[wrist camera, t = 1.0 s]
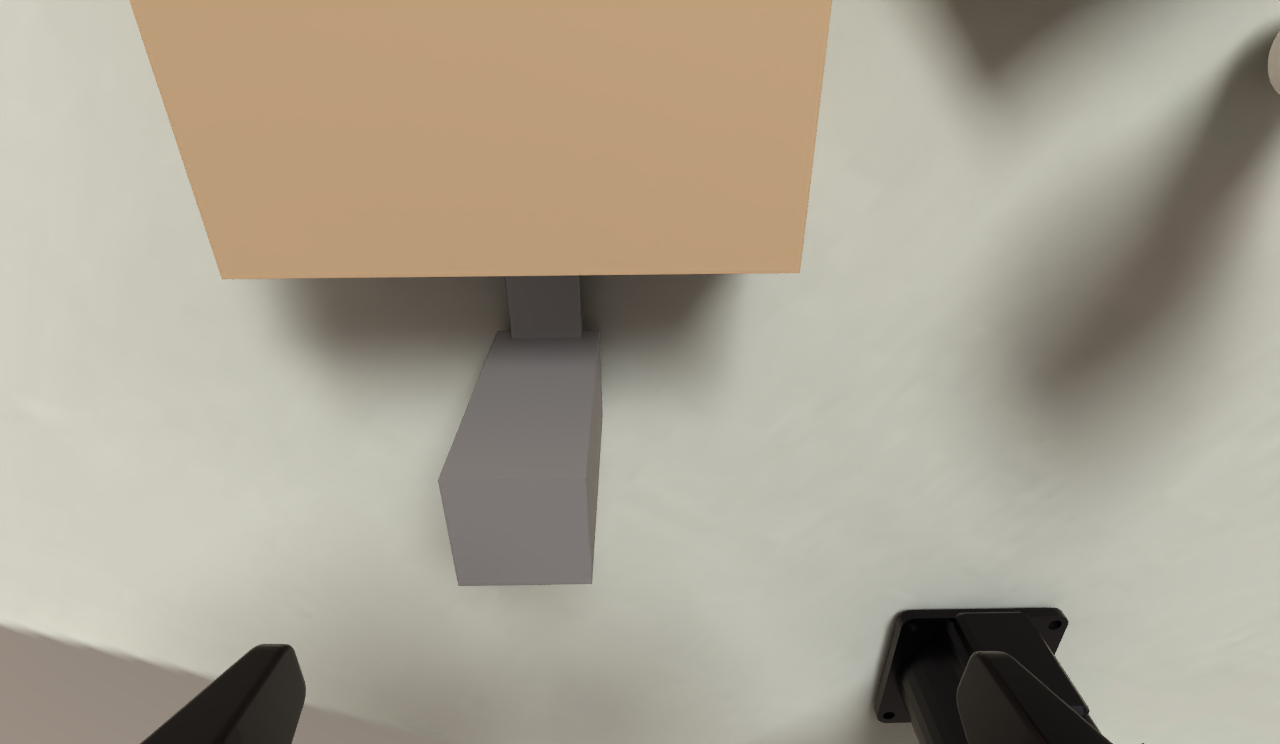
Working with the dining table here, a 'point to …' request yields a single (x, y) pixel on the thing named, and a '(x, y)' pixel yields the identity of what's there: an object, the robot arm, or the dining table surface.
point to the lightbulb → (1275, 64)
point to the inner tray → (529, 446)
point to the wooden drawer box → (494, 133)
